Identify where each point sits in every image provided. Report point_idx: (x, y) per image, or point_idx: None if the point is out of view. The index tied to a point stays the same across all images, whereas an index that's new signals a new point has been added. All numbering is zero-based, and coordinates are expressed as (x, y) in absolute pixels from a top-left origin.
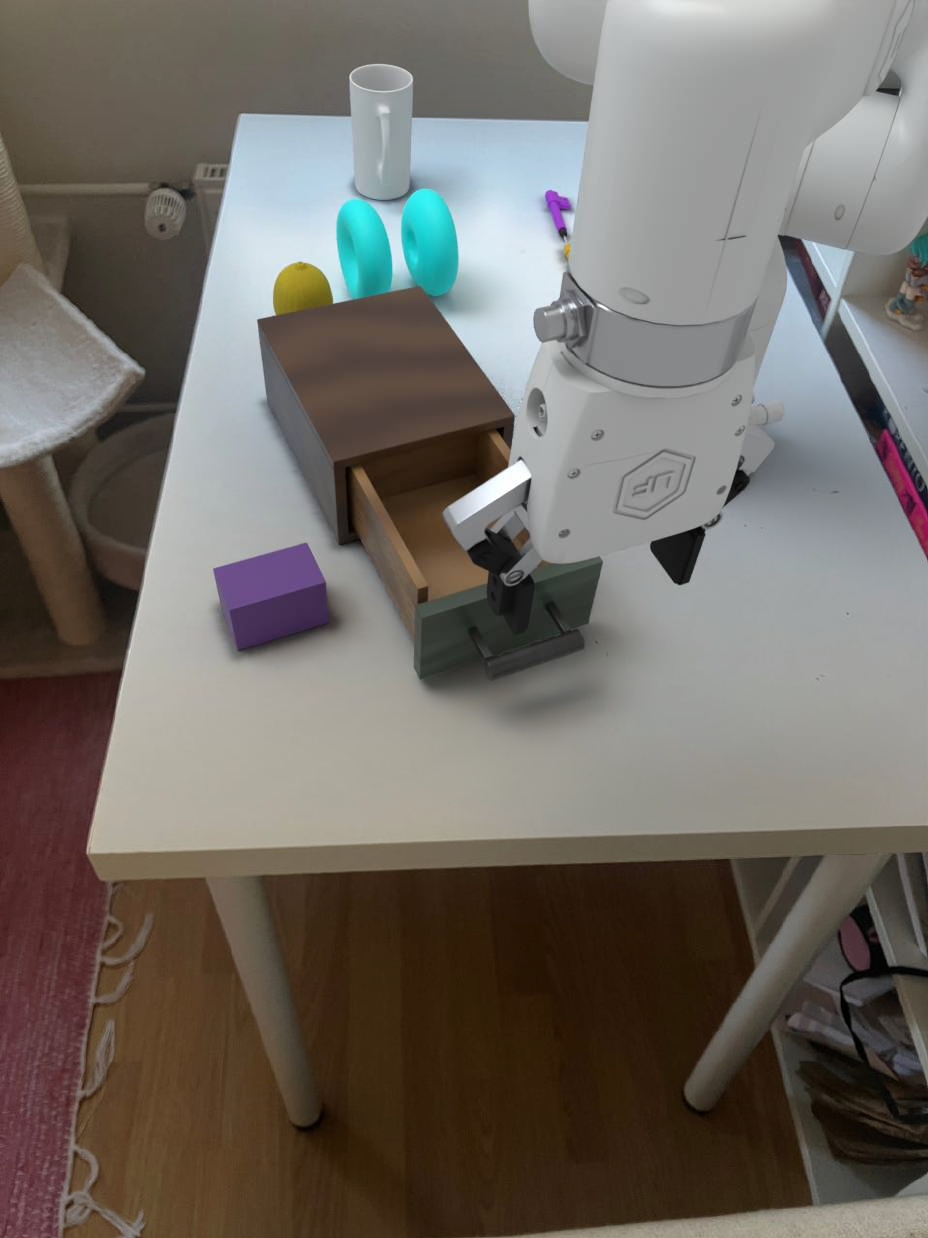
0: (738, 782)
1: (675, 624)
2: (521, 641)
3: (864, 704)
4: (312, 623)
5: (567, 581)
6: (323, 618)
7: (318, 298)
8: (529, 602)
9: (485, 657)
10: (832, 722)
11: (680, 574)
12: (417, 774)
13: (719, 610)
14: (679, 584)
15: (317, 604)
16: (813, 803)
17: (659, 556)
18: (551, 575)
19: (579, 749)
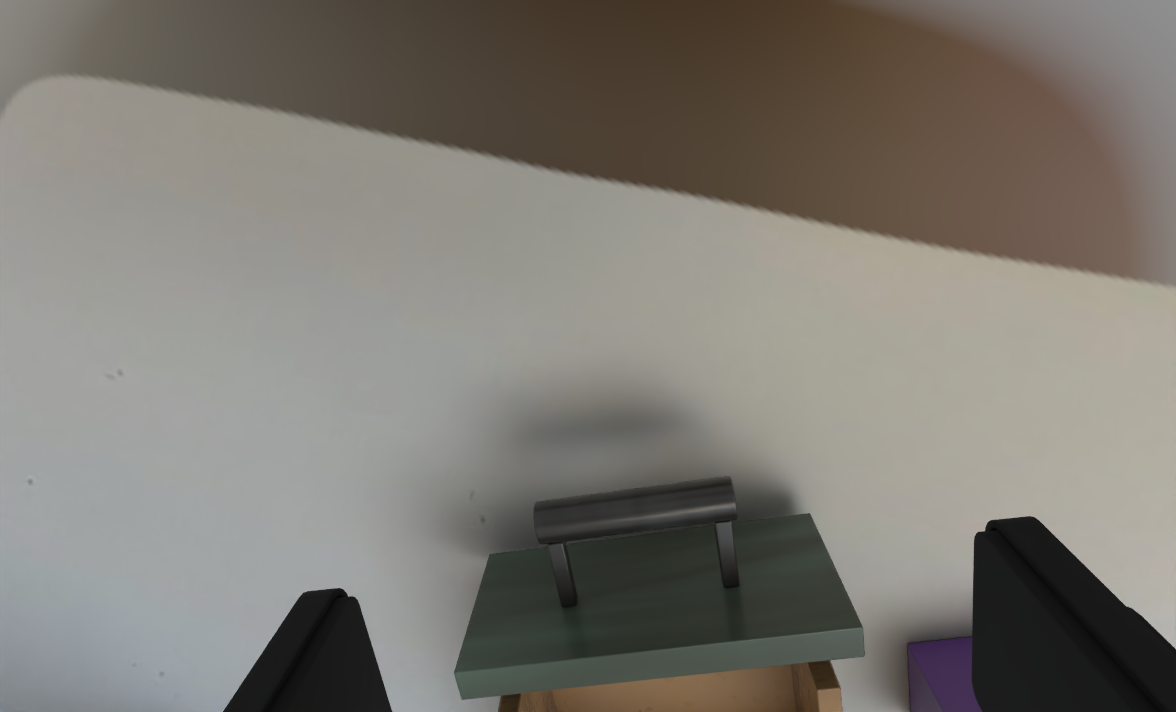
0: (321, 209)
1: (337, 523)
2: (619, 545)
3: (49, 306)
4: (940, 648)
5: (534, 643)
6: (922, 653)
7: None
8: (1112, 645)
9: (730, 523)
10: (117, 285)
11: (327, 630)
12: (864, 348)
13: (253, 533)
14: (340, 591)
15: (948, 682)
16: (198, 138)
17: (378, 710)
18: (569, 663)
19: (577, 333)
